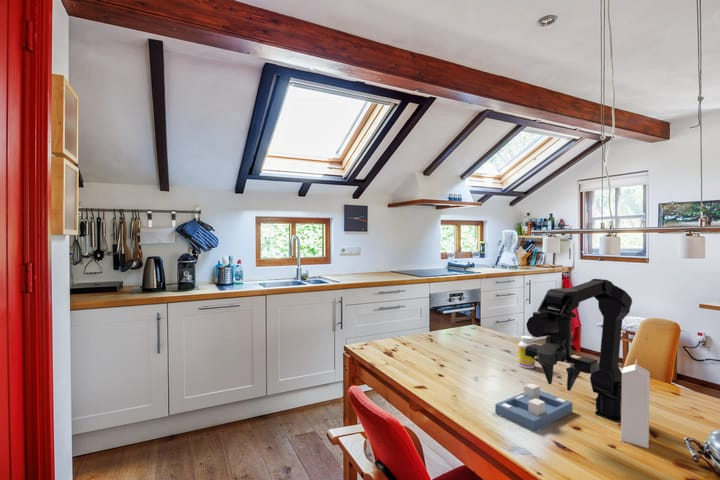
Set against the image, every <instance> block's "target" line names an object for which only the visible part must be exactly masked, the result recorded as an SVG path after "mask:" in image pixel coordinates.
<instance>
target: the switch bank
mask: <svg viewBox="0 0 720 480" xmlns="http://www.w3.org/2000/svg"><path fill="white" fill-rule="evenodd" d="M524 394H525V391H524V392H521V393H519V394H516V395H514V396H512V397H510V398H507V399H504V400H502V401H500V402H497V403H495V404H494V405H495V411H494V413H495V415H498V416H501V417H502V418H505V420H506V419H507V420H508V421H511V422H513V423H515V424H518V425H519V426H522V427H523V428H526V429H528V430H530V431H532V432H536V431H538V430H540V429H541V428H542V429H543V427H547V425H550V424H552V423H553V422H555V421H558V420H559V419H561V418H563V417H565V416H567V415H569V414H571V413H572V412H573V402H572V401H570V400H566V399H564V398H562V397H558V396H555V395H553V394H551V393H548V392H545V391H542V390H540V400H542V401H544V402H545V413H544V414H542V415H540V416H538V417H537V416H535V415H533V414H530V413H528V401H530V400H532V399H531V398H529V397H526V396H524Z"/></svg>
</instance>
